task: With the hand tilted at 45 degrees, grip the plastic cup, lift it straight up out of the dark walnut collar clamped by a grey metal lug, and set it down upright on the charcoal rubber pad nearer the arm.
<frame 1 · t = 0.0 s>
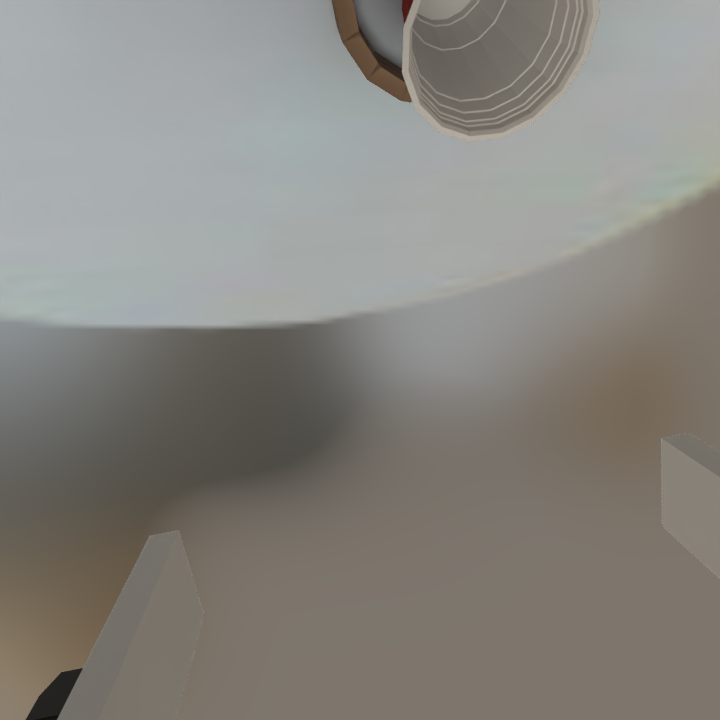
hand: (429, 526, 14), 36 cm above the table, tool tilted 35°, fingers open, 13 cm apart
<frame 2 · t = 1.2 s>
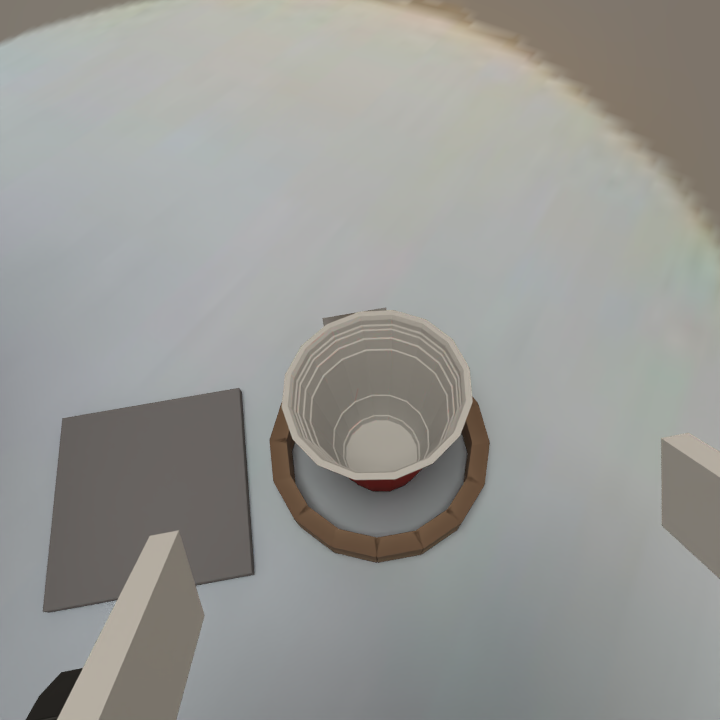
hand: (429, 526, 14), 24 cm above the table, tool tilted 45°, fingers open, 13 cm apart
plastic cup: (379, 453, 41), resting in walnut collar
walnut collar: (378, 452, 41), on the table
rubber pad: (154, 492, 40), on the table
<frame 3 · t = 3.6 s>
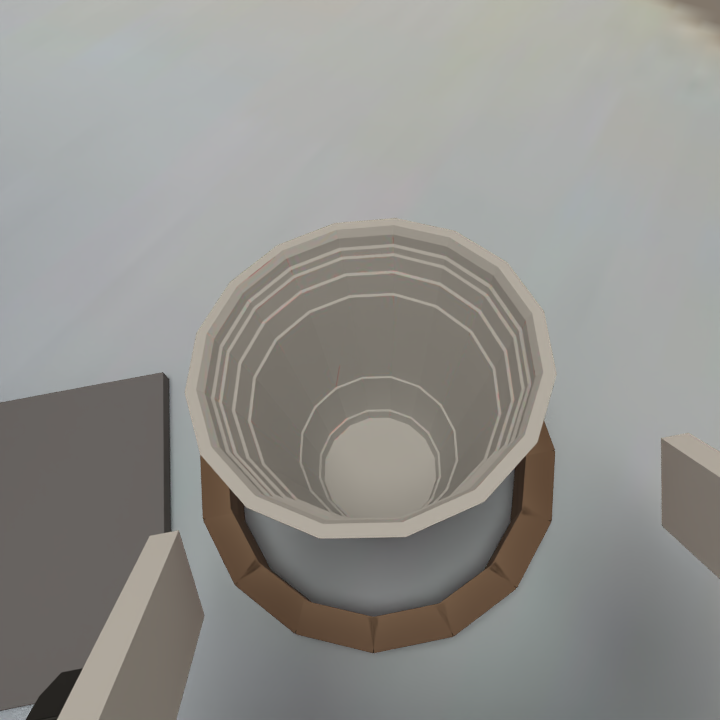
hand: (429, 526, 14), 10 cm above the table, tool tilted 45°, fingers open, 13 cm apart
plastic cup: (376, 469, 26), resting in walnut collar
walnut collar: (375, 467, 26), on the table
rubber pad: (22, 536, 25), on the table
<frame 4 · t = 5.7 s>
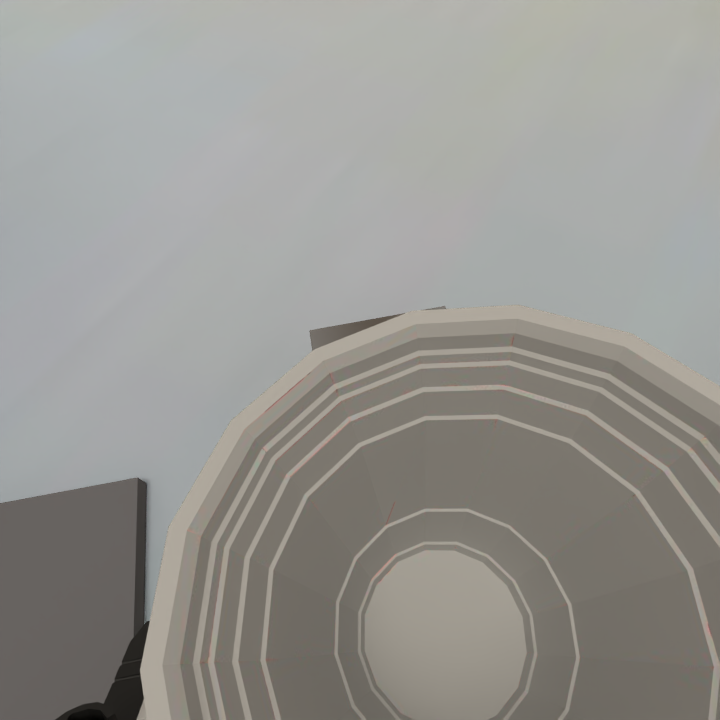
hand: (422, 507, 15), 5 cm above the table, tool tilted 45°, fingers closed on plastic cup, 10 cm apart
plastic cup: (437, 629, 18), resting in walnut collar, touching gripper
walnut collar: (437, 629, 18), on the table
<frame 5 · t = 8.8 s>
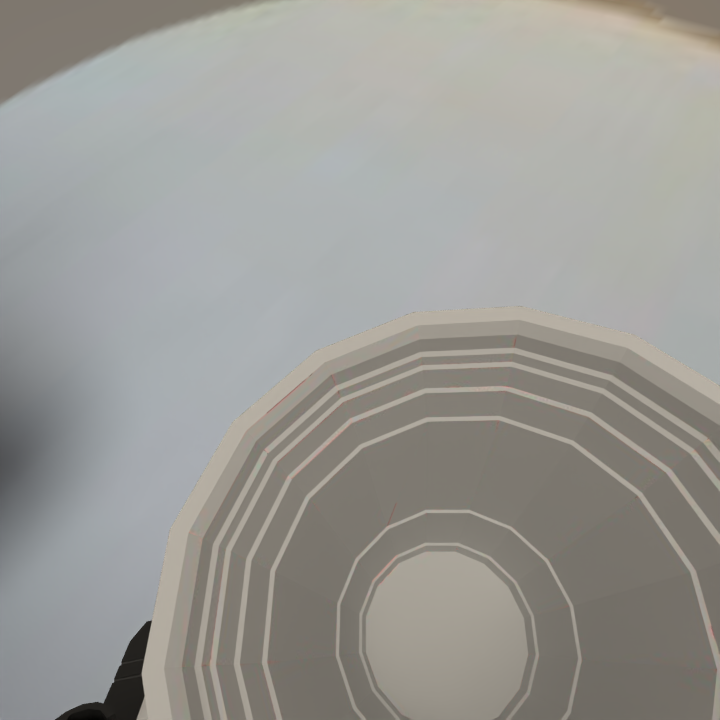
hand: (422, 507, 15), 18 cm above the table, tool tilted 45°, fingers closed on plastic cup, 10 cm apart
plastic cup: (438, 631, 18), point 13 cm above the table, touching gripper
when the fingers open (7 cm above the table, at t = 12.2 s): plastic cup moves 3 cm, point 1 cm above the table.
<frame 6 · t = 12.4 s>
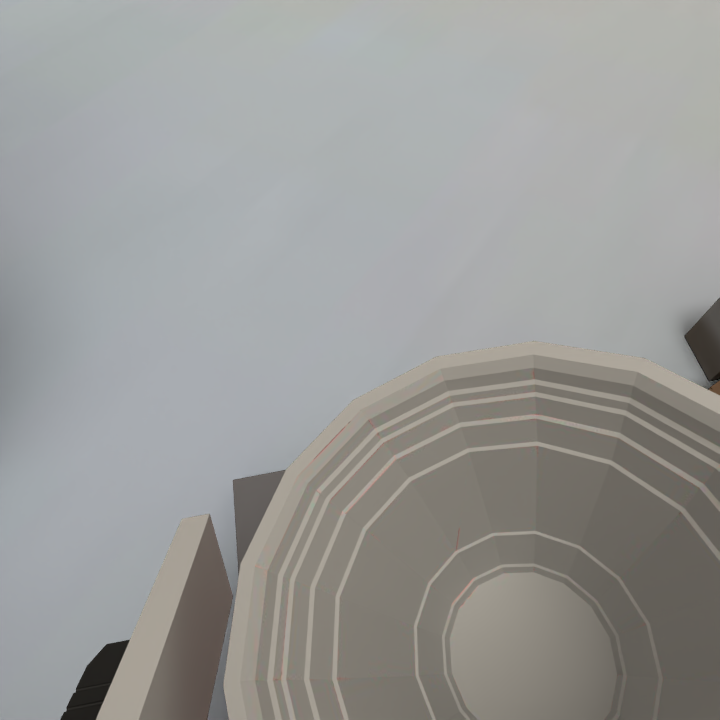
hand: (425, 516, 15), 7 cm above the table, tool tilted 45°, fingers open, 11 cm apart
plastic cup: (523, 652, 19), point 1 cm above the table, touching gripper
rubber pad: (434, 632, 20), on the table
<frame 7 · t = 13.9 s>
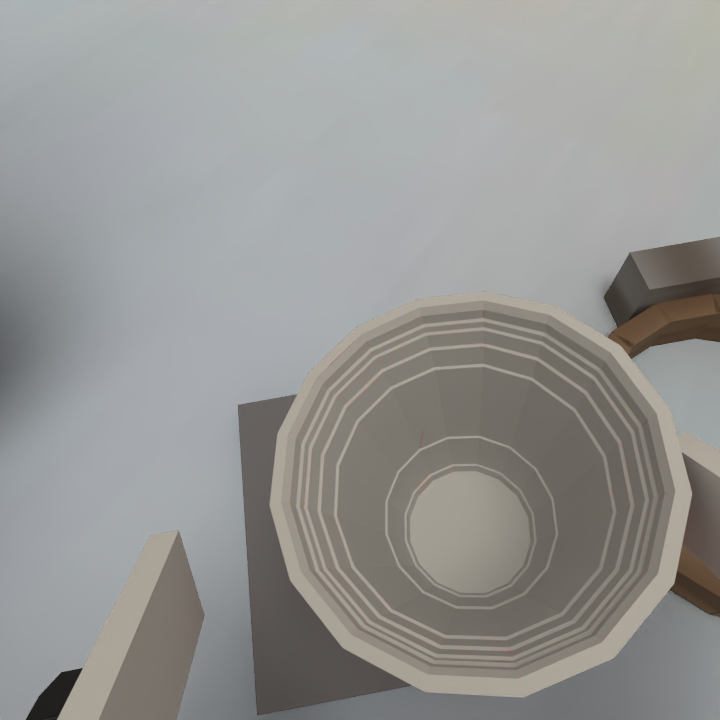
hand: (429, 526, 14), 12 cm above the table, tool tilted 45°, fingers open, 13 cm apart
plastic cup: (464, 527, 25), point 1 cm above the table, touching rubber pad
rubber pad: (392, 516, 26), on the table
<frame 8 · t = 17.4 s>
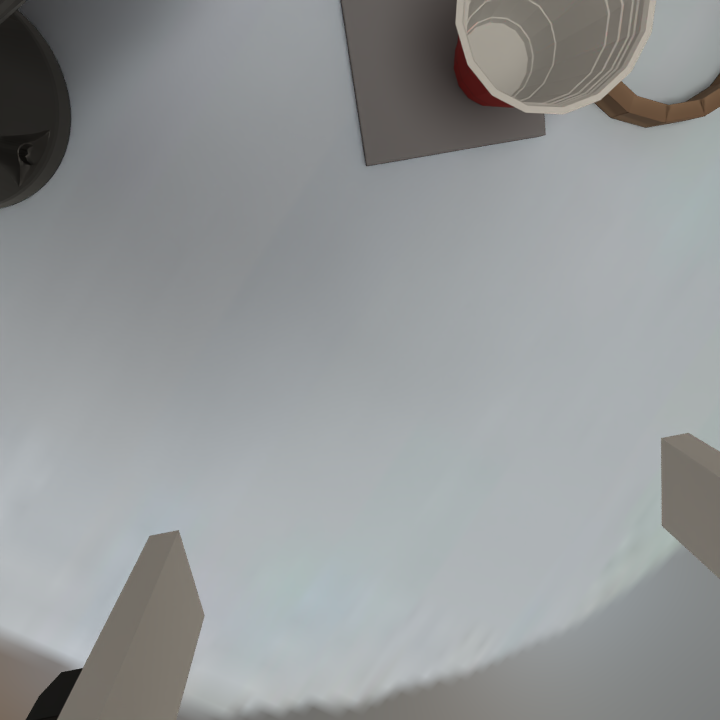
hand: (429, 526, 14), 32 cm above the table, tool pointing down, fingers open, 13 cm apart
plastic cup: (488, 62, 40), point 1 cm above the table, touching rubber pad
walnut collar: (663, 15, 41), on the table
rubber pad: (443, 52, 40), on the table
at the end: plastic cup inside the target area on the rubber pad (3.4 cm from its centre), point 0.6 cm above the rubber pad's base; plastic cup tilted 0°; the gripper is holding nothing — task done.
